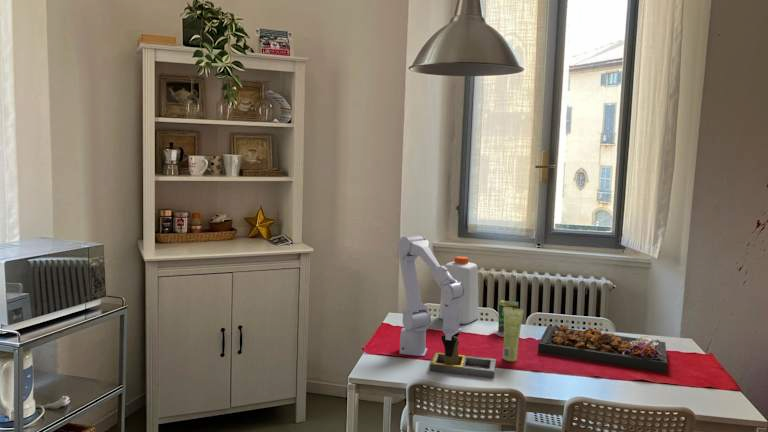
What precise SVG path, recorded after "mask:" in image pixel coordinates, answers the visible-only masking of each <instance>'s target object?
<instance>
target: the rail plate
mask: <svg viewBox="0 0 768 432" xmlns="http://www.w3.org/2000/svg"><path fill="white" fill-rule="evenodd" d="M444 356H445V352H444V353H443V352H434V354H433V356H432V359H431V361H430V364H429V372H435V373H443V374H450V375H451V374H453V375H460V376H466V377H467V376H468V377H470V376H471V377H478V378H487V379H495V373H496V366H497V365H496V364H497V359H496V358H489V357H479V356H471V355H470V356H469V355H462V354H459V363H460V365H451V364H443V362H444ZM439 362H440V363H439ZM441 362H442V363H441ZM468 365H469V366H468ZM477 366H478V367H477ZM483 367H486V368H483Z"/></svg>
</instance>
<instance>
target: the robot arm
mask: <svg viewBox="0 0 768 432" xmlns="http://www.w3.org/2000/svg"><path fill="white" fill-rule="evenodd" d="M396 245H397V250H398V256H399V263H400V270H401V276H402V282H403V287H404V293H405V298H406V306H405V307H404V308H403V309H402V326H403V327H401V330H400V337H399V354H400V355H406V356H407V355H408V356H417V357H425V356H426V354H427V352H428V348H427V347H426V341H427V340H426V339H427V338H426V337H427V330H428V327H429V326H431V322H432V317H431V315H430V312H429V309H428V306H427V305H426V304H424V303H423V301H422V297H421V292H420V285H419V280H418V274H417V269H416V263H415V261H416V260H417V258H418V257H420V258H421V259H422V261H423V262H424V263H425V264H426V266H427V267H428V268H429V269H430V270H431V276H432V278H433V281H435V282H436V284H437V285H438V286H439V288H440V289H441V290H440V296H441V295H442V298H443V304H444V314H443V320H442V328H441V331H442V332H443V334H444V335H441V336H440V339H441V341H442V344H443V347H444V353H445V354H446V356H449V357H452V354H453V350H454V346H455V343H456V341H457V339H459V337H458V336H459V335H460V333H462V332H463V328H461V327H460V324H459V321H460V301H461V297H462V296H463V295H464V292H465V290H464V286H463V285H462V283H461V282H459V281H457V280H454V278H453V277H452V276H451V274H450V273H449V272H448V269H447V268H446V267H445V265H440V263H439V261H438V260H437V258H436V256H435V255H434V253H433V251H432V249H430V242H429V240H428V239H427V237H426V236H425V235H424V234H418V235H409V236H401V237H400V239H399V240H398V242H397V244H396ZM452 336H456V337H458V338H453V337H452Z"/></svg>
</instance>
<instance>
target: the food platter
mask: <svg viewBox="0 0 768 432" xmlns="http://www.w3.org/2000/svg"><path fill="white" fill-rule="evenodd" d="M544 330H545V331H544V332H543V335H542V336H541V338H540V340H539V342H538V345H537V346H538V350H537V353H538V354H543V355H549V356H550V355H551V356H556V357H563V358H568V359H573V360H580V361H588V362H594V363H599V364H600V363H601V364H606V365H612V366H618V367H625V368H630V369H637V370H645V371H649V372H656V373H663V374H667V372H668V364H669V363H668V356H667V347H666V342H665V341H660V340H659V339H655V340H654V339H652V338H650V337H649V336H647V335H641V336H640V337H637V338H636V337H631V336H625V335H623V336H622V335H617V334H615V333H613V332H611V333H610V332H609V333H607V332H602V331H601V330H599V328H594V329H593V328H588V329H584V330H583V329H576V328H574V329H573V328H569V327H568V326H567V325H566V324H563V325H561V326H557V325H547V326H546V329H544Z"/></svg>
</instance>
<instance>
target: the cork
mask: <svg viewBox="0 0 768 432" xmlns="http://www.w3.org/2000/svg"><path fill="white" fill-rule="evenodd" d="M452 337H453V338H458V339H457V341H456V343H455V346H454V350H453V354H452V357H449V356H446V354H445V356H444V362H442V364H451V365H461V364H460V363H459V355H460V354H459V345H460V339H459V337H456V336H452Z"/></svg>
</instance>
